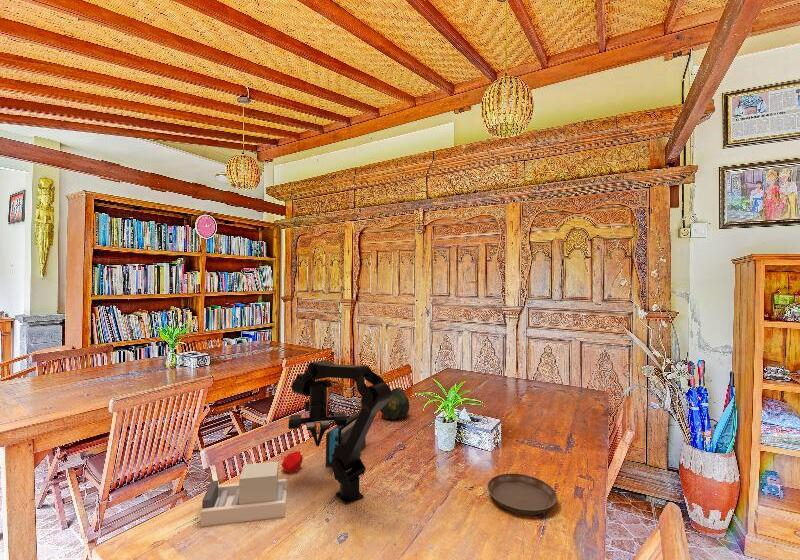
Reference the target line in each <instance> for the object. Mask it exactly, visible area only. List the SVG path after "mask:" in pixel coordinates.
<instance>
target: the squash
mask: <svg viewBox="0 0 800 560" xmlns="http://www.w3.org/2000/svg"><path fill="white" fill-rule="evenodd" d="M390 390H391V392H392V395H391V398H390V399H389V401H388V402H387V403H386V405H385V406H384V407H383V408H382V409H381V410H380V411H379V412H380V413H381V414H382V415H383V417H384V419H387V420H392V421H394V420H396V419H401V418H403V417H406V416H408V414H409V412H410V400H409V398H408V397H407V395H406V393H405V392H404V390H403V388H401V387H395V388H393V389H390Z"/></svg>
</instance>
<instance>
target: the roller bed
mask: <svg viewBox="0 0 800 560" xmlns="http://www.w3.org/2000/svg"><path fill="white" fill-rule="evenodd" d="M287 494H288V478H282V479H281V478H280V479H279V478H278V493H277V501H270V502H261V503H251V504H242V505H239V482H238V483H229V484H227V483H226V484H218V498H217V501H216V503H215V506H214V507H213V508H204V509H202V508H201V511H200V527H208V526H209V527H210V526H215V525H226V524H233V523H244V522H251V521H259V520H261V521H262V520H270V519H278V518H279V519H280V518H284V517H285V518H286V508H287V496H288V495H287Z"/></svg>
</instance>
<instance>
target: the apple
mask: <svg viewBox="0 0 800 560" xmlns="http://www.w3.org/2000/svg"><path fill="white" fill-rule="evenodd" d="M303 457H304V456H303V454H302V453H301V451H300V450H299V451H298V450H295V451H293V452H290V453H288V454H287V455H285V456H284V457H283V460H282V462H281V467H282V469H283V470H284V472H285V471H286V473H288V472H289V473H288V474H292V473H295V472H297V471H296V470H298V471H300V468H301V465H302V463H303V459H304V458H303ZM294 471H295V472H294ZM291 472H292V473H291Z"/></svg>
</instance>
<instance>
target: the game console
mask: <svg viewBox="0 0 800 560" xmlns="http://www.w3.org/2000/svg"><path fill="white" fill-rule="evenodd" d="M360 411H361V409H360V410H358V412H357V413H355V414H354V415H352V416H351V415H350V416H349V417H347V425H344V426H337V425H336V426H335V427H333V428H332V429H330V430H328V431H327V432H326V435H325V466H326V467H329V468H332V463H331V460H332V458H333V457H332V456H331V455H333V453H334V451H335V448H336V446H338V445H340V444H342V443H344V442H346V441H347V438H348V436H349V434H350V432H351V430H352V428H353V426H354V424H355V422H356V419H357V417H358V415H359V413H360ZM366 437H367V436H366ZM366 437H365V439H364V441H363V443H362V445H361V447H360V452H362V451H363V450H365V449H366V440H367V439H366Z"/></svg>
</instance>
